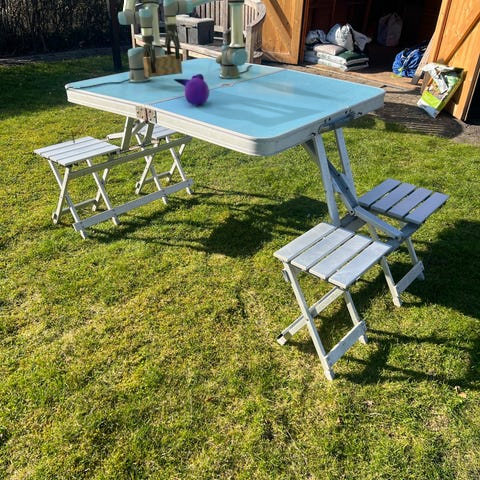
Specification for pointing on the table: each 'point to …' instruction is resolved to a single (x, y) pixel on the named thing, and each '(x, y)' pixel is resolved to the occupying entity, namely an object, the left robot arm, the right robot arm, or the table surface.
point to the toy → (195, 89)
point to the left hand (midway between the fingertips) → (151, 72)
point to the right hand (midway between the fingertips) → (173, 57)
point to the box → (163, 65)
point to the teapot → (219, 60)
